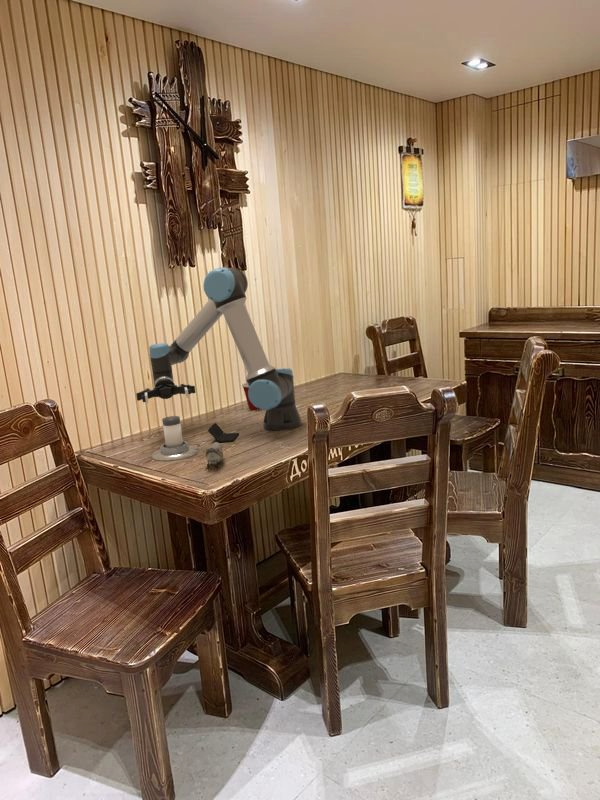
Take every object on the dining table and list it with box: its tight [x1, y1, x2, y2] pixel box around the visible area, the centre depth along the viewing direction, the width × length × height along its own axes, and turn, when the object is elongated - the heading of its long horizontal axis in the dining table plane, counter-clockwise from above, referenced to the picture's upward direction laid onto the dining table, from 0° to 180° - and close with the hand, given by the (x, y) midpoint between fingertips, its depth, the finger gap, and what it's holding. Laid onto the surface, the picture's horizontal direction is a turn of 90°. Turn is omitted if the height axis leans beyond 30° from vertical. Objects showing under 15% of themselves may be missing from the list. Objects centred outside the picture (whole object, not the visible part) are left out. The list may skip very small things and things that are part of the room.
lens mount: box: [151, 440, 199, 462], centre depth 210 cm, size 16×16×4 cm
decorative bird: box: [204, 441, 224, 472], centre depth 194 cm, size 5×16×7 cm, turn 1°
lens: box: [161, 415, 184, 448], centre depth 209 cm, size 6×6×12 cm
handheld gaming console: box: [207, 422, 240, 444], centre depth 226 cm, size 12×7×10 cm
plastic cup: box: [241, 382, 259, 411], centre depth 274 cm, size 11×11×12 cm
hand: (167, 396), depth 203 cm, fingers open, 13 cm apart
